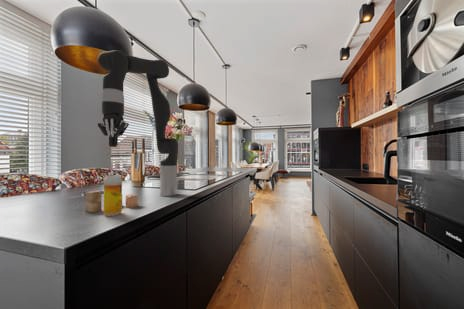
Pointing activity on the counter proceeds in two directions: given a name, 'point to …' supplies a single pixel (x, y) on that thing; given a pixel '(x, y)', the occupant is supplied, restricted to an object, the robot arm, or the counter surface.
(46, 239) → the counter surface
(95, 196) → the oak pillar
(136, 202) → the pinkish brown block
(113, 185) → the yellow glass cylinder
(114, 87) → the robot arm
